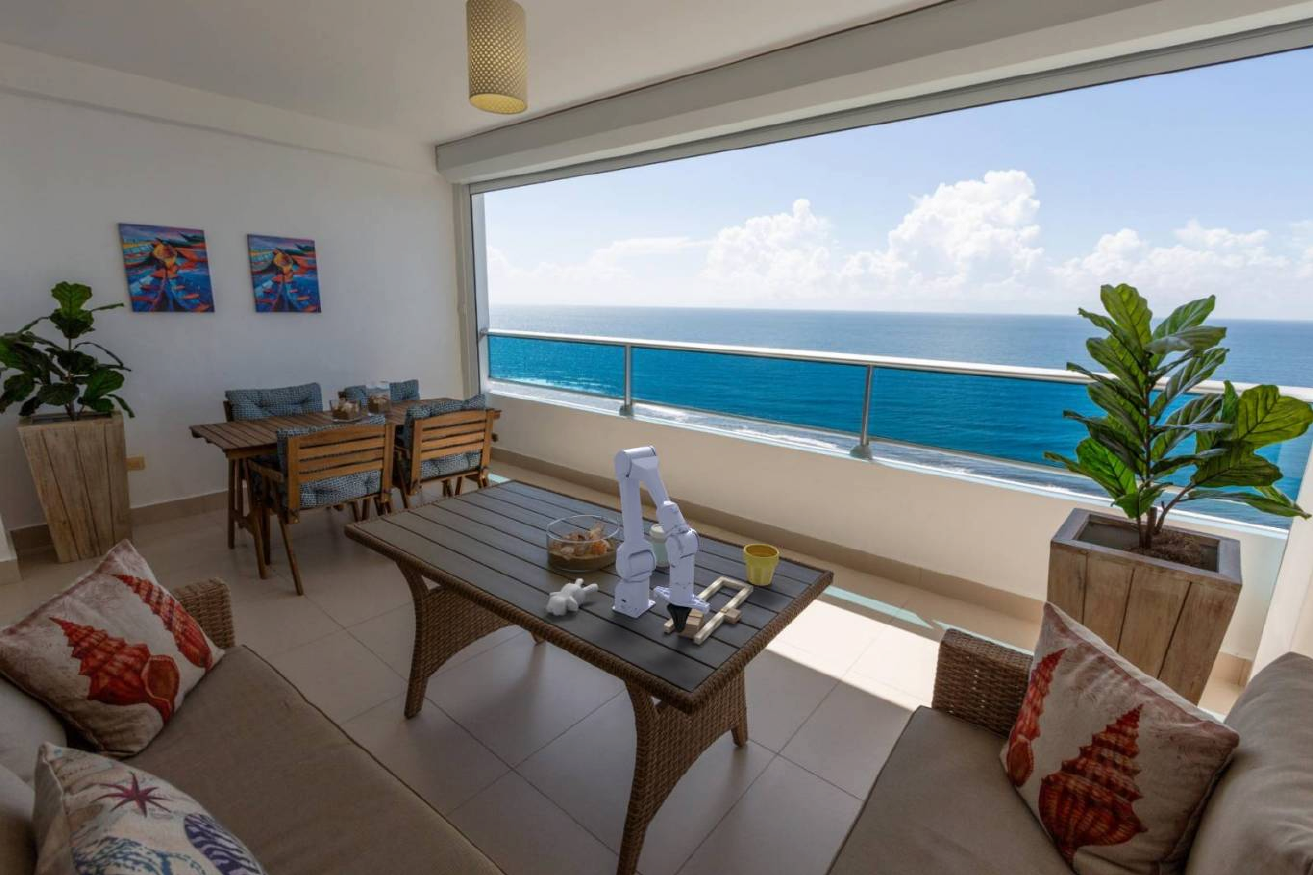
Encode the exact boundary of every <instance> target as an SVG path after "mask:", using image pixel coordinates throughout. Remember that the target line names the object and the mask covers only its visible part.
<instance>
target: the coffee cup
mask: <svg viewBox="0 0 1313 875" xmlns="http://www.w3.org/2000/svg"><path fill="white" fill-rule="evenodd" d="M649 535H650V543H651V544H652V545H653V551H654V554H655V556H656V567H658V568H669V567H670V563H669V560H668V553H667V551H666V547H665V542H666V541H667V538H666V536H665V534H664V532H663V529H662V527H661V525H660V523H656V524H654V525H651V527H650V530H649Z"/></svg>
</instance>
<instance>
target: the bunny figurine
mask: <svg viewBox="0 0 1313 875" xmlns="http://www.w3.org/2000/svg"><path fill="white" fill-rule="evenodd" d="M583 583H584V579H582V578H576V580H575V582H574V583H570V582H568V583H566V584H565V585H564V586H562V588H561V590H560V591H556V592H555V591H554V592H550V593H549V596H548V597H549V600H548V603H547V604H546V605H545V609H546V613H549V614H553V615H554V616H557V617H558V616H565V615H567V613H568V611H571V612H577V611H579V607H580V605H582V604H583V603H584V601H585V597H586V596H587V594H591V593H594V592H597V591H599V587H598V584H596V583H591V584H588V585H586V586H585V587H583V588H582V587H581V585H582V584H583Z"/></svg>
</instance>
